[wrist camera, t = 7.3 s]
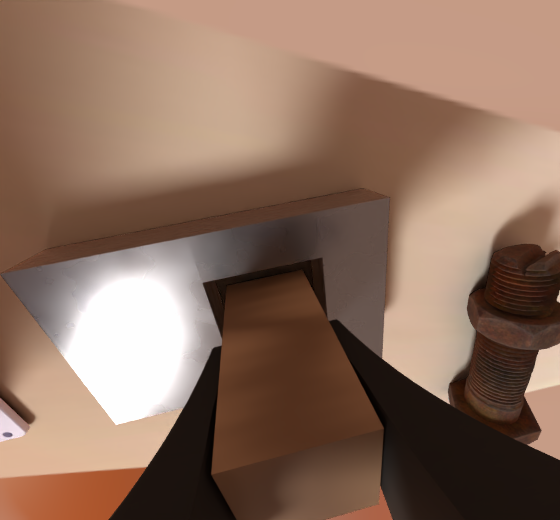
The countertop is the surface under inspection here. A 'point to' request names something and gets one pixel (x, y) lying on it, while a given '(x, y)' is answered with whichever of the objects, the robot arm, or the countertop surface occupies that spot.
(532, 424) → the bolt
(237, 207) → the countertop surface
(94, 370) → the collar plate
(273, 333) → the pin
